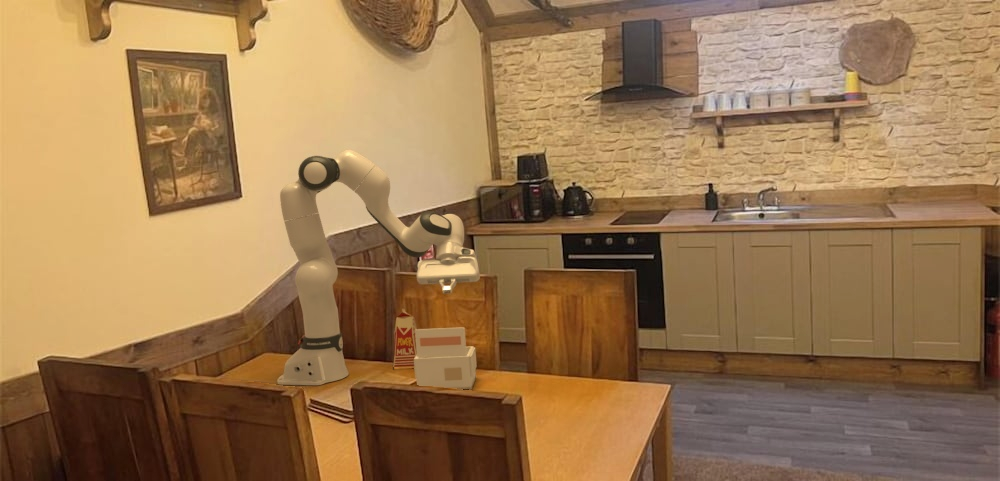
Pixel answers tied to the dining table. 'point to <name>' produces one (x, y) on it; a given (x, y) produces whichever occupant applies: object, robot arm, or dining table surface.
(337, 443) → the dining table surface
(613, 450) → the dining table surface
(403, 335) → the milk carton
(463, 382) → the carton
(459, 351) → the flap
